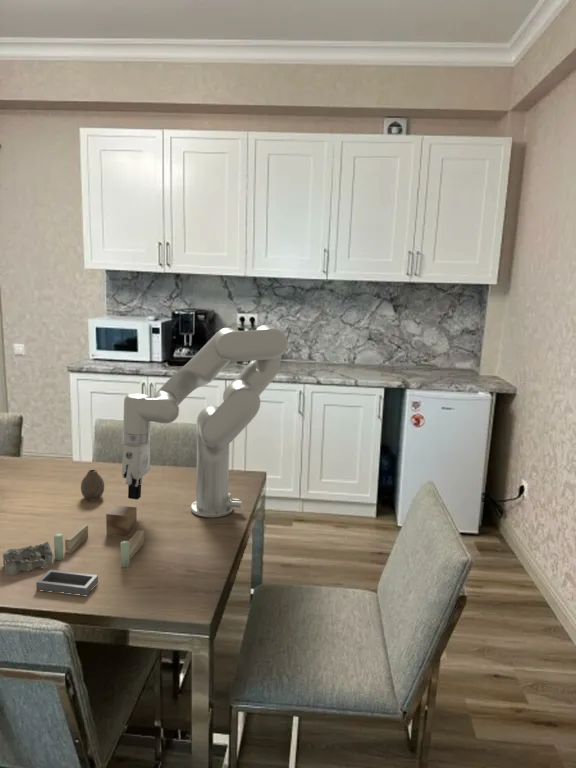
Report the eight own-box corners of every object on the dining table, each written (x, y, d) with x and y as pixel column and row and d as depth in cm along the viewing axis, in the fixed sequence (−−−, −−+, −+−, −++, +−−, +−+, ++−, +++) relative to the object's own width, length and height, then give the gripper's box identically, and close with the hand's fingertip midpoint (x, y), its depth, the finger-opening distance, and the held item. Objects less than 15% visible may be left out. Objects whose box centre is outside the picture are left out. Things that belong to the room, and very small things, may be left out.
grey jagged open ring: (4, 578, 132) (3, 561, 131) (2, 563, 138) (1, 547, 138) (54, 568, 137) (53, 552, 136) (50, 554, 143) (49, 539, 143)
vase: (89, 504, 174) (89, 476, 172) (76, 497, 178) (75, 470, 176) (109, 497, 179) (108, 470, 177) (95, 491, 183) (95, 465, 181)
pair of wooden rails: (144, 543, 151) (143, 530, 150) (130, 559, 142) (129, 546, 141) (82, 536, 153) (82, 524, 152) (65, 552, 144) (64, 539, 143)
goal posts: (130, 564, 140) (130, 541, 139) (127, 568, 138) (127, 545, 137) (57, 555, 142) (56, 533, 141) (53, 559, 140) (52, 536, 139)
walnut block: (136, 527, 160) (136, 507, 158) (127, 537, 154) (127, 516, 153) (116, 525, 160) (115, 505, 159) (106, 534, 155) (106, 514, 153)
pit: (98, 583, 131) (97, 575, 130) (86, 596, 125) (86, 588, 125) (50, 577, 132) (50, 569, 132) (36, 590, 127) (36, 582, 126)
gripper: (138, 446, 156) (136, 509, 159) (158, 432, 171) (156, 490, 174) (112, 442, 157) (110, 506, 160) (134, 429, 171) (132, 487, 175)
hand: (134, 497), depth 167 cm, fingers closed
